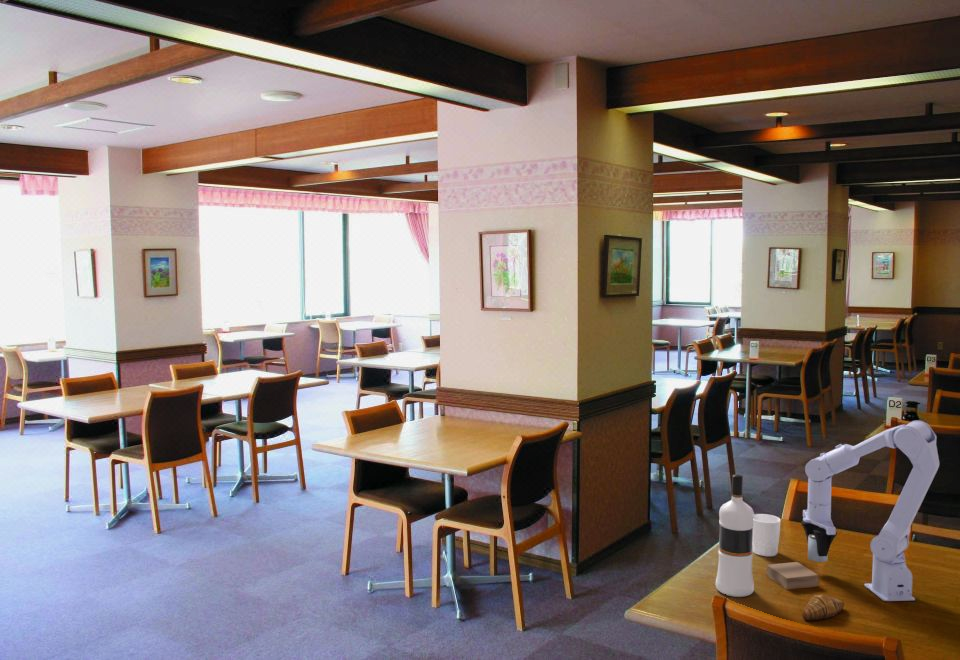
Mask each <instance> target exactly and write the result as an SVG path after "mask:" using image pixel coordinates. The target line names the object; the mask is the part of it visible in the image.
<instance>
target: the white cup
mask: <svg viewBox="0 0 960 660" xmlns="http://www.w3.org/2000/svg"><path fill="white" fill-rule="evenodd" d="M753 523H754V526H753V542H752V553H753V554H756V555H758V556H763V557H775V556H776V555H778V546H779V543H780V542H779V541H780V534H781V533H780V531H781V518H780V517H778V516H776V515H773V514H767V513H754V521H753Z"/></svg>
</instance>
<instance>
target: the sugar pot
mask: <svg viewBox="0 0 960 660" xmlns="http://www.w3.org/2000/svg"><path fill="white" fill-rule="evenodd" d="M828 554H829V553H828ZM828 554H827V556H818V552H817V542H816V538H815V535H814V533H810V534H809V536H808V542H807V558H808V560H810V561H813V562H818V563H824V562H827V561H828Z"/></svg>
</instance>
